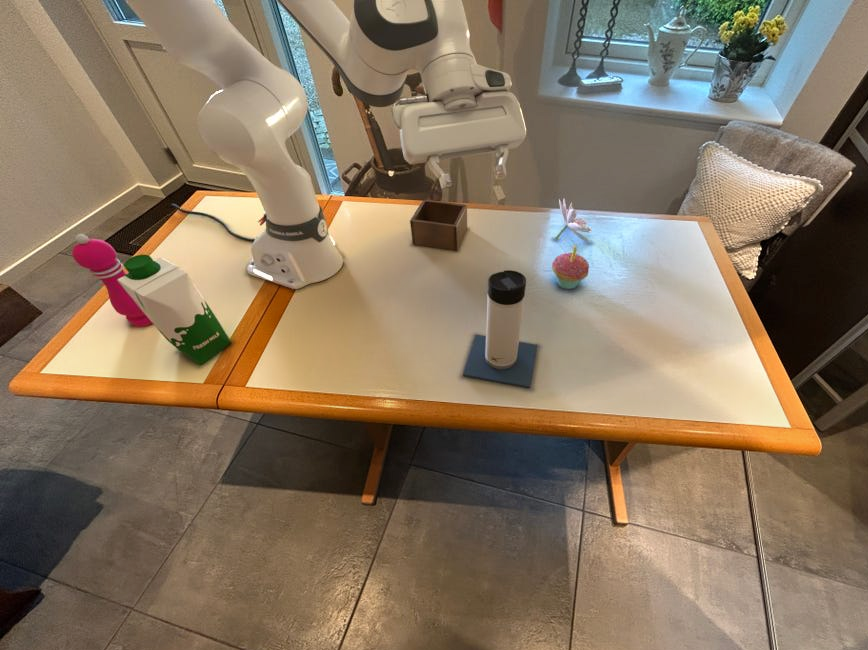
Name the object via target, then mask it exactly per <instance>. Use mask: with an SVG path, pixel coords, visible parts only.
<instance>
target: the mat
mask: <svg viewBox="0 0 868 650" xmlns="http://www.w3.org/2000/svg"><path fill="white" fill-rule="evenodd" d="M537 348H538V344H537V343H529V342H524V341H519V345H518V353H517V360H516V363H515V364H514V365H513V366H512V367H510V368H508V369H503V370H500V369H495V368H493V367H491V366H490V365H489V364H488V363H487V362H486V359H485V352H486V335H483V334H482V335H481V334H474V338H473V341H472V345H471V347H470V350H469V354H468V357H467V360H466V364H465V366H464V369H463V373H462V376H463V377H464V378H470V379H471V378H472V379H477V380H482V381H486V382H487V381H488V382H492V383H493V382H494V383H499V384H503V385H509V386H515V387H520V388H526V389H531V384H532V377H533V372H534V367H535V366H534V365H535V361H536V354H537Z"/></svg>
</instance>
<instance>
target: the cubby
mask: <svg viewBox="0 0 868 650" xmlns="http://www.w3.org/2000/svg"><path fill="white" fill-rule="evenodd" d="M409 224H410V232H411V233H410V234H411V239H412V245H413V246H420V247H426V248H434V249H441V250H448V251H454V252H455V251H456V252H458V250H459V248H460V246H461V243H462V241H463V239H464V237H465V235H466V232H467V230H468V205H467V204H464V203H463V204H462V203H456V202H449V201H448V202H447V201H438V200H433V199H432V200H431V199H422V200H421V202H420V204H419V205H418V207H417V208H416V210H415V212H414V213H413V215H412V217H411V218H410V220H409Z"/></svg>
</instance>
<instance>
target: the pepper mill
mask: <svg viewBox="0 0 868 650" xmlns="http://www.w3.org/2000/svg"><path fill="white" fill-rule="evenodd" d="M74 240H75V241H76V244H75V245H74V246H73V248H72V252H71V254H72V258H73V259H74V261H75V262H76V263H77V264H78V265H79V266H80V267H82V268H85V269H88V272H89V273H90V274H91V275H92V277H94V278H95V279H99V280H100V281H101V282H102V283H103V285H104V287H105V288H106V291H107V294H108V298H109V301H110V305H111V306H112V308H113V310H114V311H115V312H116V313H117V314H119V315H122V316H124V317H125V318H126V320H127V321H128V322H129V323H130V324H131V325H132V326H134V327H141V328H142V327H147V326H150V325H154V324H153V323H152V322H151V321H150V319H149V318H148V317H147V316H146V315H145V313H144V312H143V311H142V310H141V309H140V307H139V306H138V305H137V304H136V302H135V301H134V300H133V299H132V297H131V296H130V295H129V294H128V293H127V292H126V290H125V289H124V288H123V286H122V285H121V284H120V283H119V281H118V279H119V278H121V277H124V275H126V274H127V273H126V271H125V270H124V263H121V261H120V259H118V258H117V251H116V250H115V248H114V247H113V246H112V245H111V244H110V243H109V242H106V241H104V240H102V239H98V238H89V237H88V236H87V235H86V234H83V233H78V234H76V235H75V237H74Z"/></svg>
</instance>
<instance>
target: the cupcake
mask: <svg viewBox="0 0 868 650" xmlns="http://www.w3.org/2000/svg"><path fill="white" fill-rule="evenodd" d="M577 249H578V246H577V243H575V244H574V246H573V250H572V252H565V253H562V254H560V255H557V256H555V258H554V259H553V261H552V264H551V270H552V272H553V274H555V276H556V280H557V284H558V285H559V287H561V288H563V289H566V290H573V289H575V288H576V287H578V285H579V283H580V282H581V281H582V280H584V279H585V278H586V277H588V275H589V272H590V271H589V270H590V264H589V262H588V260H587V259H586V258H585V257H583V256H581V255H580V254H578V253H577Z"/></svg>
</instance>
